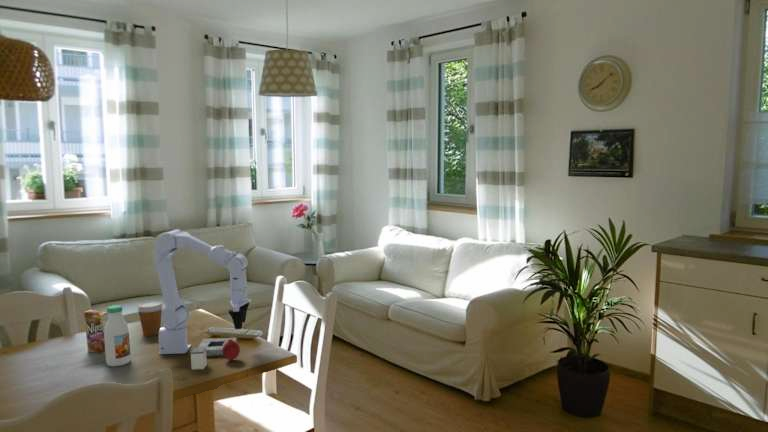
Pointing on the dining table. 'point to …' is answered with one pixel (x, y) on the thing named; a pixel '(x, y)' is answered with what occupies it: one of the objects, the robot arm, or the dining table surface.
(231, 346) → the onion
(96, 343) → the candy box
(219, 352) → the socket plate
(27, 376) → the dining table surface
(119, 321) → the milk bottle
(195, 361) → the plug
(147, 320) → the disposable coffee cup
